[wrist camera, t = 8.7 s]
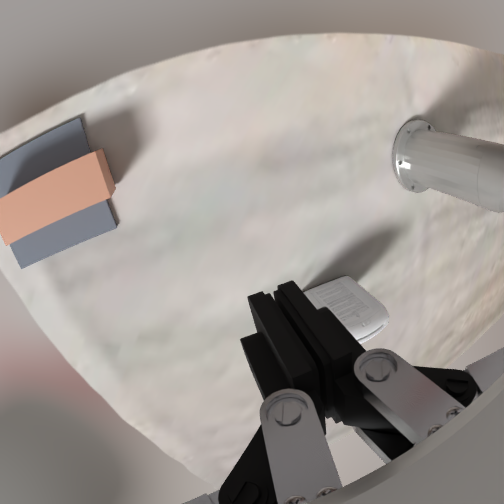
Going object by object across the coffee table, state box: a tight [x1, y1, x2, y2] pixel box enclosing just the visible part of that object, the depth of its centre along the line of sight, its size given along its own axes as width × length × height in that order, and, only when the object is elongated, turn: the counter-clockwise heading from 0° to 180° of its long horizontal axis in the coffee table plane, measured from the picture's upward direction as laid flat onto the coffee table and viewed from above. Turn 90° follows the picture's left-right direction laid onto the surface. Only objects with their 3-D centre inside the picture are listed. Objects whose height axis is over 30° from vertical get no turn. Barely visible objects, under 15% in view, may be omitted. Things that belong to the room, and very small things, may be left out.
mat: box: [0, 118, 117, 269], centre depth 29 cm, size 15×14×1 cm
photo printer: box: [303, 276, 389, 344], centre depth 43 cm, size 10×4×12 cm, turn 100°
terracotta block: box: [0, 148, 116, 246], centre depth 27 cm, size 5×5×14 cm
